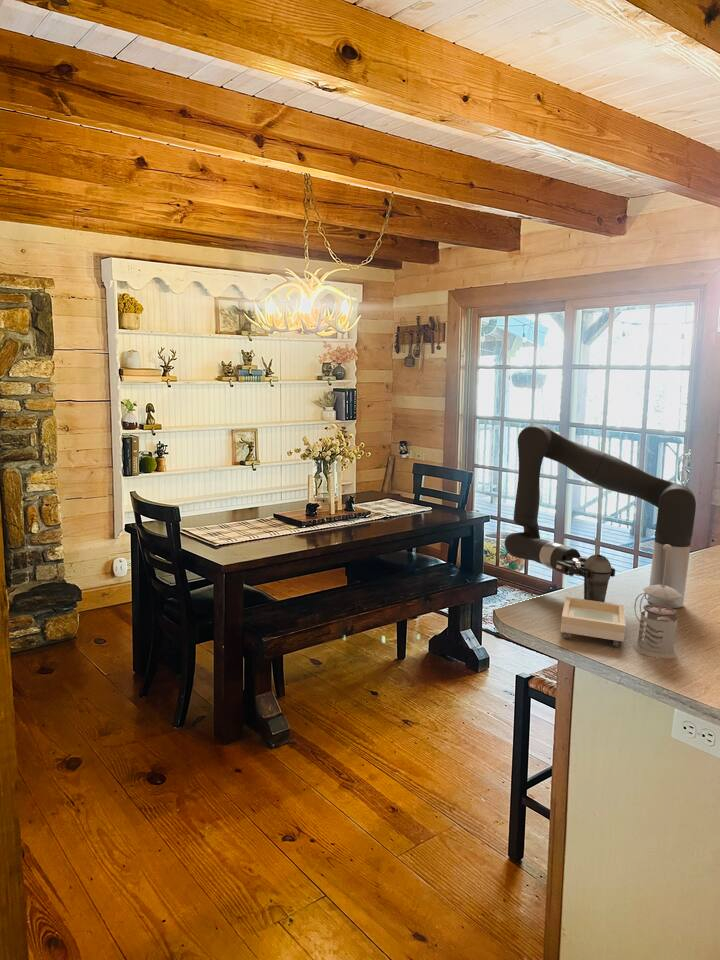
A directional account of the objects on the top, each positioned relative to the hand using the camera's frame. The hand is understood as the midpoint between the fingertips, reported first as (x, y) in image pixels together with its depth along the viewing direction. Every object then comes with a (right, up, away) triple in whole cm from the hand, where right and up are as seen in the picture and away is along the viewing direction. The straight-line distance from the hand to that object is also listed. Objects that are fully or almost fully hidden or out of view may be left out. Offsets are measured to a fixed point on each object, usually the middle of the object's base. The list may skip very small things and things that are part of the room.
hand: (603, 574), depth 184 cm
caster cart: (-7, -13, -12) cm, 19 cm away
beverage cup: (-1, -11, +4) cm, 11 cm away
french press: (+4, -15, -20) cm, 25 cm away
